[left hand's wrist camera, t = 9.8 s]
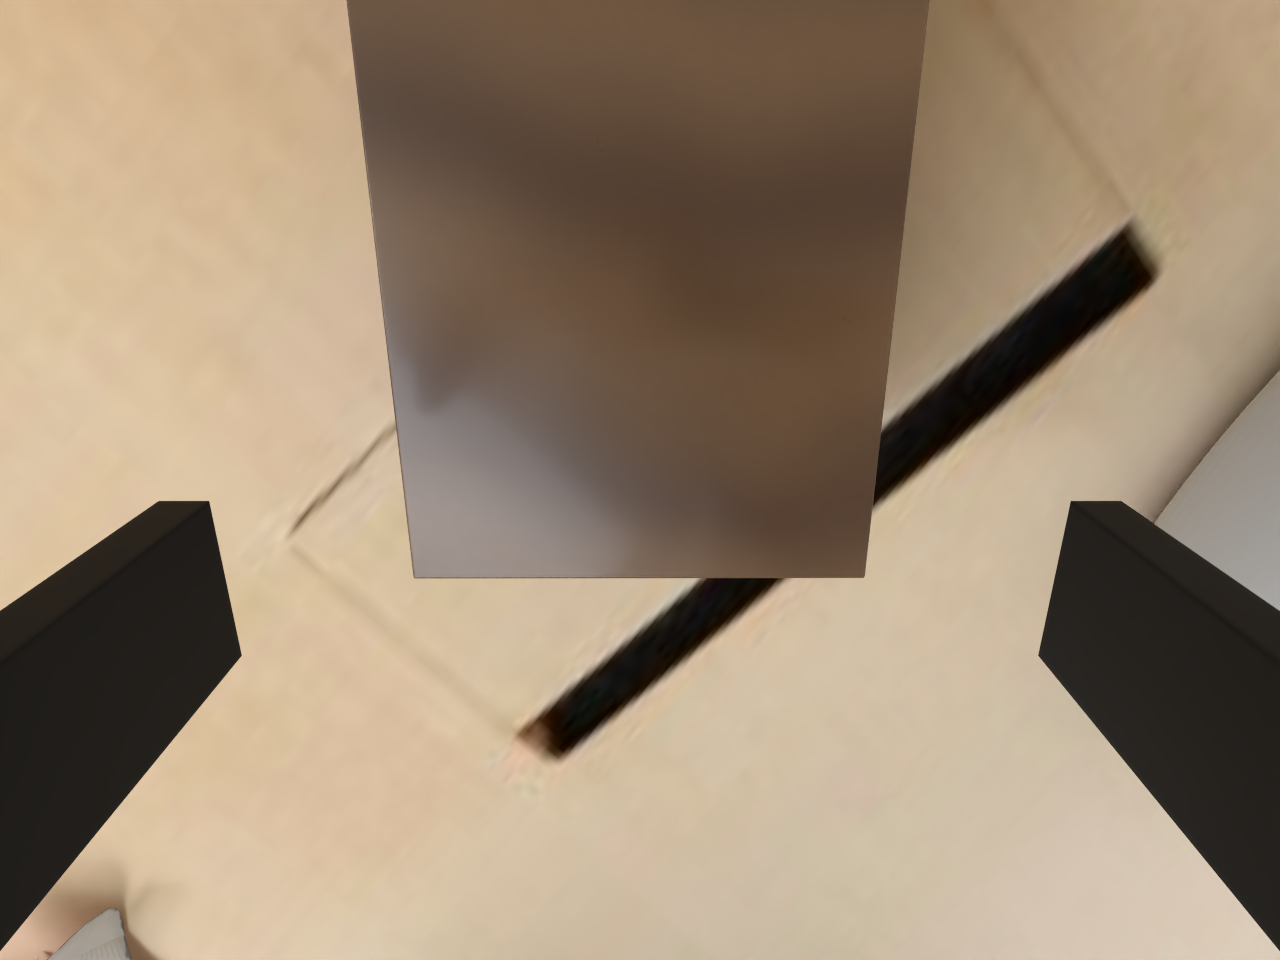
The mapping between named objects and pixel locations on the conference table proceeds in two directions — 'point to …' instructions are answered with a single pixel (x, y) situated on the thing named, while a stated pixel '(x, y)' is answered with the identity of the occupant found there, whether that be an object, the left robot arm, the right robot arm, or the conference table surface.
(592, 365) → the cabinet
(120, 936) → the fish
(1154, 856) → the conference table surface
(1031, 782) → the conference table surface
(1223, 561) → the projector
